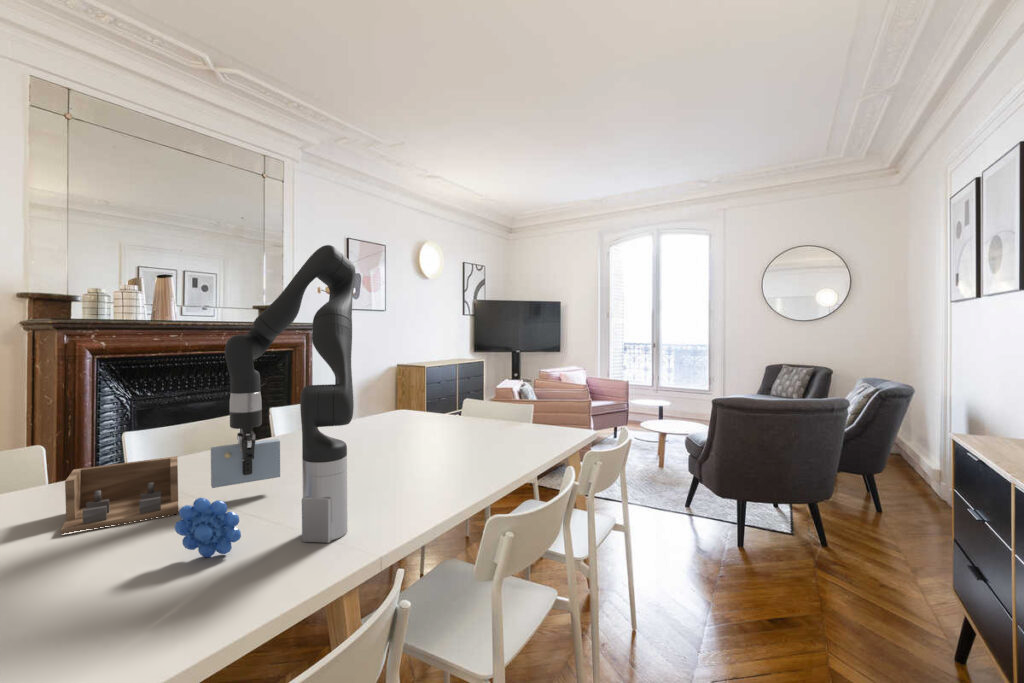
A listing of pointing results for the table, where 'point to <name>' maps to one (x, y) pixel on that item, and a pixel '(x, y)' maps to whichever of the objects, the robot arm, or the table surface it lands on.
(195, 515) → the blue flower
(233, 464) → the door
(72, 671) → the table surface
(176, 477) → the cabinet
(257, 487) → the table surface
